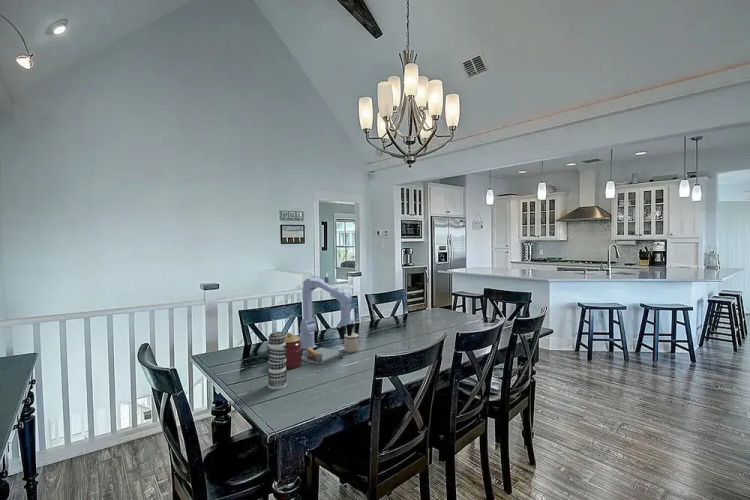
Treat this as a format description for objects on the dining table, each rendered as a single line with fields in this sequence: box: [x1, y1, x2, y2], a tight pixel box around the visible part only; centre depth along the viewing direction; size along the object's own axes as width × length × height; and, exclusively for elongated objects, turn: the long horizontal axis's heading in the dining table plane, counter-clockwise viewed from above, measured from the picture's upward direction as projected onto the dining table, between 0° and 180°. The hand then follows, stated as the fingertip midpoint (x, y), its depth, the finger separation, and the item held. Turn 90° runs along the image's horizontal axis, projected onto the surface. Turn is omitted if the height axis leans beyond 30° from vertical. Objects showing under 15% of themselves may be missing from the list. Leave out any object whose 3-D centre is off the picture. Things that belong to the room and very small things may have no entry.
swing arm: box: [305, 346, 322, 362], centre depth 216 cm, size 20×3×4 cm, turn 30°
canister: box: [285, 332, 303, 369], centre depth 207 cm, size 13×13×18 cm
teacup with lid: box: [338, 330, 360, 353], centre depth 232 cm, size 12×9×12 cm
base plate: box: [302, 347, 343, 365], centre depth 219 cm, size 21×22×4 cm
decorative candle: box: [266, 331, 288, 390], centre depth 179 cm, size 9×9×25 cm
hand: (345, 337), depth 224 cm, fingers open, 7 cm apart
